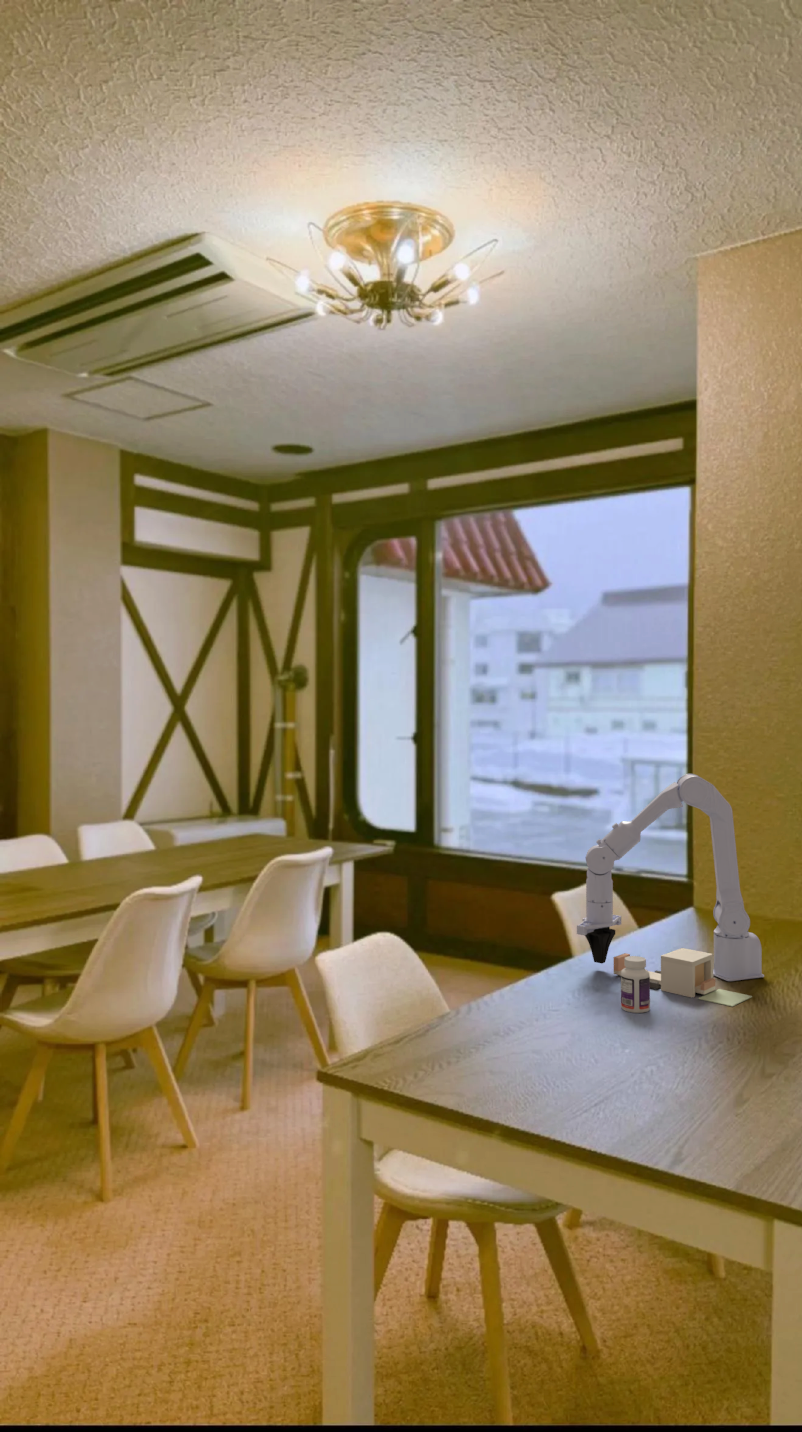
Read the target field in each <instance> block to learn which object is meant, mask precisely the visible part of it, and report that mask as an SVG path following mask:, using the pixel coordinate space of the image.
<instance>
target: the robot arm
mask: <svg viewBox="0 0 802 1432" xmlns="http://www.w3.org/2000/svg"><path fill="white" fill-rule="evenodd" d="M682 802H684V803H685V804H686V805H688V806H690V807H694V808H697V809H699V810H700V811H701V812H703V813H704V814H705V815H707V816H708V817H709V823H710V832H711V833H710V834H711V835H710V836H711V845H712V854H713V864H714V865H713V866H714V873H715V875H714V876H715V885H716V891H715V892H716V893H715V894H716V895H715V898H716V900H715V901H716V902H715V905H714V907H713V912H712V913H713V918H714V920H715V922H716V923H717V925H716V928H714V930H713V977H716V978H719V979H721V980H724V981H725V982H735V981H741V980H742V981H743V980H751V979H759V978H764V977H765V974H763V973H762V962H763V961H762V956H763V955H762V944H761V941H760V939H759V937H758V936H757V935H756V934H755V933H753V932H749V929H750V928H751V927H750V926H751V919H750V917H749V914H748V913H747V911H746V910H745V905H744V904H745V903H744V899H743V896H742V891H741V885H740V877H739V876H740V874H739V866H738V865H739V864H738V855H737V853H738V852H737V844H736V836H735V833H736V832H735V825H734V824H735V823H734V816H733V815H734V814H733V809H732V806H731V804H730V803H729V801H727V799H726V798H725V797H724V796H723V795H722V794H721V792H720V791H719V790H718V789H717V787H716V786H715V785H714V784H713V783H711V782H709V781H707V780H706V779H704V778H703V777H701V776H699V775H697V774H695V773H686V774H685V773H684V774H683V775H681V776H680V777H679V778H678V779H677V782H676V781H674V782H671V784H669V785H668V786H667V787H665V788H664V789H662V791H661V792H660V793H659V794H657V796H655V797H654V798H653V800H651V801H650V802H649V803H648V804H647V805H646V806H645V807H644V808H643V809H642V810H641V811H640V812H639V813H638V814H636V816H635V817H634V818H632V820H631V821H628V820H627V821H625V820H623V821H620V822H619V823H617V822H615V823H614V824H613V825H612V826H611V827H612V830H610V831H609V832H608V833H607V834H606V835H605V836H604V837H603V838H602V839H601V838H599V839H597V840H596V845H593V846H591V847H589V849H588V850H587V852H586V854H585V862H586V865H587V871H586V880H585V882H586V883H585V885H586V886H585V887H586V888H585V890H586V891H585V892H586V894H585V895H586V896H585V899H586V900H585V901H586V902H585V903H586V904H585V905H586V906H585V908H586V910H585V911H586V915H585V917H582V921H581V923H579V924H577V925H576V935H581V936H585V938H586V940H587V942H588V945H589V947H590V951H591V953H592V954H591V955H592V960H593V962H594V963H598V964H605V963H606V961H607V956H608V953H609V949H610V945H611V943H612V940H613V939H614V937H615V935H616V929H613V928H610V927H613V926H620V925H622V915H617V914H614V910H613V909H614V908H613V907H614V901H613V899H614V898H613V897H614V893H613V892H614V890H613V889H614V888H613V887H614V885H613V883H614V881H613V879H612V870H613V868H614V866H615V861H620V860H621V859H622V858H623V857H624V856H625V855H626V854H628V853H629V852H630V851H631V850H632V849H633V848H634V847H635V846H636V845H637V844H638V843H639V842H641V834H642V832H643V831H644V830H645V829H646V828H648V827H649V826H650V825H651V824H652V823H654V822H655V821H656V820H658V819H659V818H660V817H661V816H662V815H664V813H666V812H667V811H669V810H672V809H678V808H683V807H684V806H683V804H682Z"/></svg>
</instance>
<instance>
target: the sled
mask: <svg viewBox="0 0 802 1432" xmlns="http://www.w3.org/2000/svg"><path fill="white" fill-rule="evenodd" d="M628 956H631V954H630V953H627V952H625V953H622V954H619V955H616V956H614V957H613V974H614V975H617V976H621V971H622V969H624V968H626V966H625V963H624V961H625V957H628ZM648 972H649V974H650V981H653V982H658V983H659V984H660V985H661V974H660V973H655V971H650V970H648ZM716 986H717V985H716V978H715V977H713V978H711V979H708V980H706V981H704V963H702V964H699V965H697V966H695V994H696V993H697V994H701V995H703V996H704V995H706V994H709V993H711V992H713V991H715V990H717V989H716Z"/></svg>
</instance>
